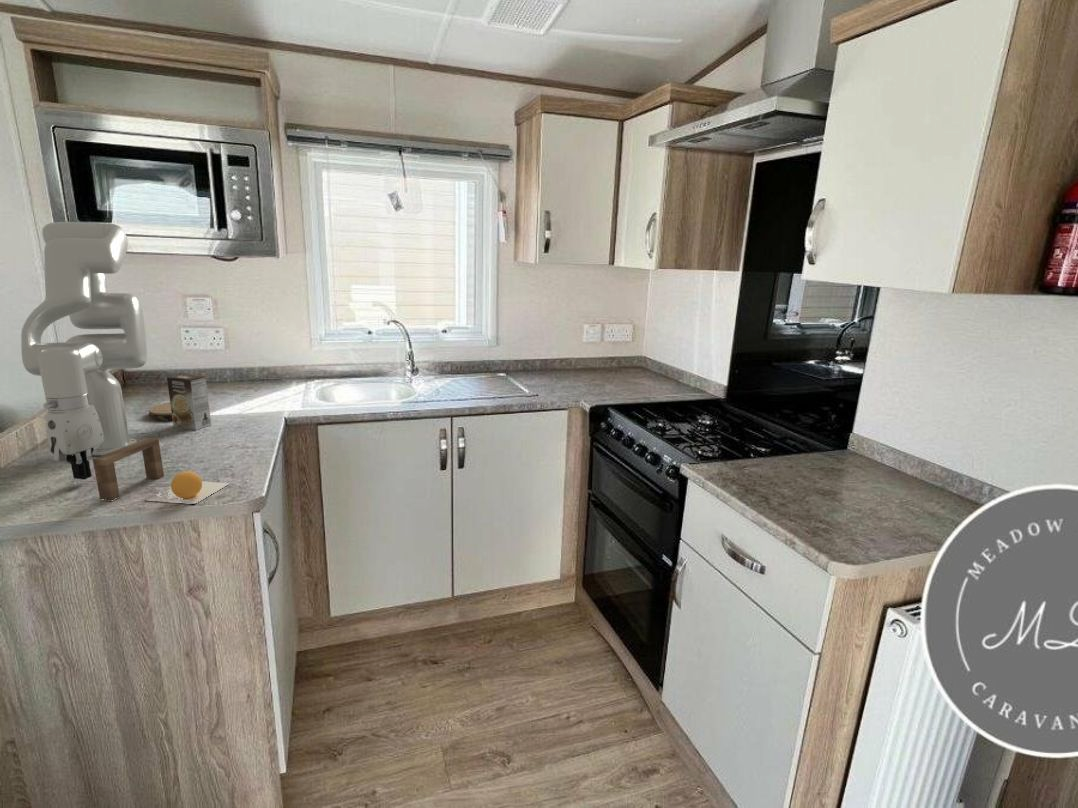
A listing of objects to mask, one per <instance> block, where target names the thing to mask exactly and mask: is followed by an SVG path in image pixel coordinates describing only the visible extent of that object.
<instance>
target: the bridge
mask: <svg viewBox="0 0 1078 808" xmlns="http://www.w3.org/2000/svg"><path fill="white" fill-rule="evenodd" d="M159 440H160V439H159V438H155V437H153V438H152V437H145V438H143V439H141V440H137V442H135V443H133V444H130V445H128V446H125V447H123V448H120V449H118V450H115V451H112V452H110V453H107V454H105V455H99V456H96V457H95V458H92V464H93V469H94V474H95V478H96V484H97V490H98V495H99V500H100V499H104V500H105V499H106V500H114V499H115V498H118V497H120V498H121V495H120V489H119V484H118V478H117V472H116V467H115V462H118V461H120V460H122V459H124V458H128V457H130V456H132V455H135V454H137V453H139V452H142V458H143V459H142V460H143V464H144V465H143V466H144V471H145V476H146V479H148V478H154V479H153V480H159V479H161V478H160V477H162V478H164V477H165V475H164V467H163V460H162V453H161V446H160V441H159ZM163 476H164V477H163Z"/></svg>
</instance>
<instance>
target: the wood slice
mask: <svg viewBox="0 0 1078 808" xmlns="http://www.w3.org/2000/svg"><path fill="white" fill-rule="evenodd" d="M148 416H149V419H150V420H152V421H157V422H173V419H172V412H171V405H170V401H169V402H165V403H160V404H156V405H153V406H151V407H150V408H149V409H148Z"/></svg>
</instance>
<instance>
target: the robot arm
mask: <svg viewBox="0 0 1078 808" xmlns="http://www.w3.org/2000/svg"><path fill="white" fill-rule="evenodd" d="M41 234H42V238H43V240H44V241H43V242H44V249H43V250H44V251H43V254H44V283H45V284H44V285H45V287H44V288H45V289H44V291H45V297H44V300H43V302H41V303H40V304H39V305H38V306H36V308H35V309H33V310H32V312H31V313H30V314H29V315H28V317H27V318H26V320H25V321H24V323H23V326H22V328H21V333H20V337H21V339H20V340H21V343H20V344H21V345H20V348H21V360H22V364H23V368H24V369H25V370H26V371H27V373H29V374H31V375H32V376H33V375H34V376H37V377H39V376H40V377H41V378H40V379H41V383H42V387H43V392H44V396H45V403H44V404H43V408H44V409H46V410H47V411H46V413H45V430H46V431H45V432H46V439H47V440H46V441H47V444H48V449H49V451H50V453H51V454H53V460H54V461H56V462H66V463H68V464H70V466H71V472H72V476H73V479H75V480H87V479H88V478H89V479H90V478H92V469H91V465H90V461H91V460H92V456H94V457H95V456H96V457H99V456H102V455H105V454H107V453H110V452H112V451H115V450H118V449H120V448H123V447H125V446H128V445H130V444H133V443H135V442H138V440H137V439H135V438H132V437H130V434H129V429H128V423H127V422H128V421H127V417H126V415H127V414H126V410H125V402H124V399H123V392H122V386H121V384H120V382H119V380H118V379H117V378H116V377H115V376H114V375H113V374H112V373H110V372H109V371H111V370H124V369H125V370H126V369H138V368H139V369H140V368H141V367H144V366H145V365H146V363H147V360H148V350H147V349H148V347H147V339H146V329H145V328H146V326H145V319H144V311H143V307H142V305H141V302H140V300H139V298H138V297H137V296H136V295H133V294H131V293H126V292H125V293H124V292H108V289H107V288H108V287H107V286H108V285H107V277H106V275H110V274H111V275H112V274H116V273H118V272H119V271H120V270H121V268H122V266H123V263H124V260H125V257H126V255H127V251H128V237H127V234H126V232H125V230H124V228H122V227H121V226H120V225H119V224H118V225H117V224H115V223H106V222H105V223H104V222H83V221H82V222H81V221H58V222H57V221H56V222H54V221H53V222H50V223H47V224H44V226H43V228H42V231H41ZM68 316H69V319H70V320H69V321H70V322H71V324H72V325H73V326H74V327H76V328H78V329H80V330H81V329H82V330H122V331H123V332H122V333H120V332H119V333H85V334H79V335H78V334H77V335H74V336H72V337H70V338H68V339H67V340H66V341H64V342H62V341H61V342H42V337H43V334H44V332H45V330H46V329H47V328H48V327H49V326H51V325H52V324H54V323H55V322H56V321H58V320H60V319H64V318H65V317H68Z"/></svg>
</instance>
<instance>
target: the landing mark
mask: <svg viewBox="0 0 1078 808" xmlns="http://www.w3.org/2000/svg"><path fill="white" fill-rule="evenodd" d="M230 484H231V483H228V482H215V481H205V480H202V488H201V490H200V492H199V493H198V494H197V495H195V496H193V497H191V498H183V500H189V503H197V504H199V503H201V502H202V501H204V500H205V498H206V497H207V498H209V497H210V495H211V494H213V493H214V494H216V493H217V491H218V492H219V491H221V490H223V489H225V488H226V487H228V486H229V485H230ZM227 485H228V486H227ZM225 486H226V487H225ZM168 488H171V486H169V487H168ZM222 488H223V489H222ZM220 489H221V490H220ZM168 491H169V492H168ZM168 491H167V492H168V496H169V497H167V496H166V495H165V496H166V497H167V498H168V499H172V498H174V499H178V498H175V497H178V496H176V495H175V494H174V493H173V492H172V491H171V489H170V490H168ZM160 492H161V491H160ZM160 492H158V493H159V494H157V493H155V494H156V495H157V496H159V497H162V496H160V495H161V493H160ZM215 492H216V493H215ZM169 494H170V495H169ZM214 494H213V495H214ZM173 496H174V497H173ZM208 496H209V497H208ZM211 496H212V495H211ZM207 498H206V499H207ZM203 499H204V500H203ZM180 500H181V499H180ZM201 500H202V501H201ZM198 501H199V503H198ZM200 501H201V502H200ZM185 502H188V501H185Z"/></svg>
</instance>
